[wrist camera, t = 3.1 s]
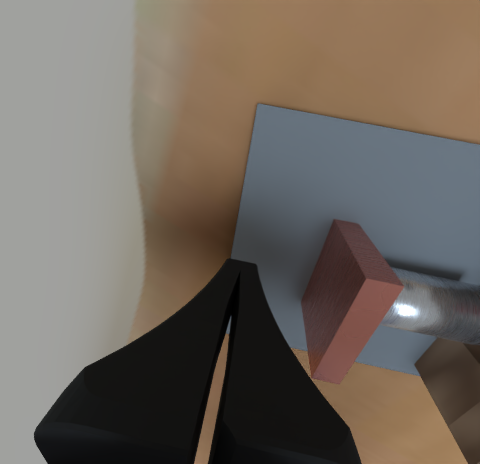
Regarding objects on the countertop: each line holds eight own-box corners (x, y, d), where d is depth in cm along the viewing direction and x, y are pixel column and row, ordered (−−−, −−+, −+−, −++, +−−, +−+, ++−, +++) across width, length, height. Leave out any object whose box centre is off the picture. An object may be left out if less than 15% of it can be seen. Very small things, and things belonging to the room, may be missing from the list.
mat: (504, 387, 16) (512, 396, 16) (219, 324, 17) (217, 331, 16) (753, 195, 9) (782, 201, 9) (258, 103, 10) (257, 103, 9)
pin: (300, 301, 14) (311, 377, 10) (334, 218, 11) (366, 278, 7) (421, 327, 14) (481, 416, 10) (485, 249, 11) (601, 327, 7)
